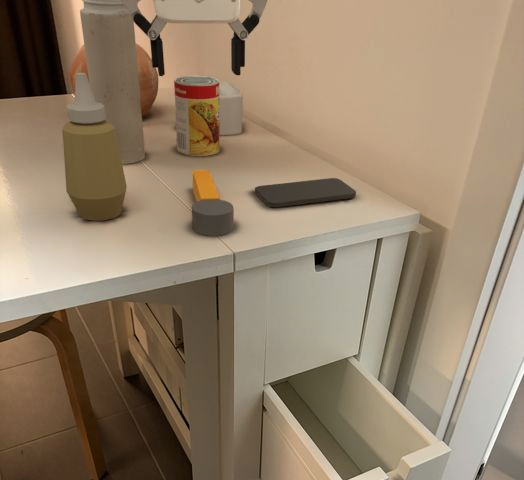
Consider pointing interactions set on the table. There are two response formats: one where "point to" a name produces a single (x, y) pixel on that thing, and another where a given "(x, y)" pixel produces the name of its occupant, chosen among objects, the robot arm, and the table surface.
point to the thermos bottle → (114, 71)
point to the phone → (304, 192)
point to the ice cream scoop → (210, 207)
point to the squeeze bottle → (92, 157)
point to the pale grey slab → (230, 109)
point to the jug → (145, 74)
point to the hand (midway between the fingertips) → (199, 73)
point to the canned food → (197, 115)
